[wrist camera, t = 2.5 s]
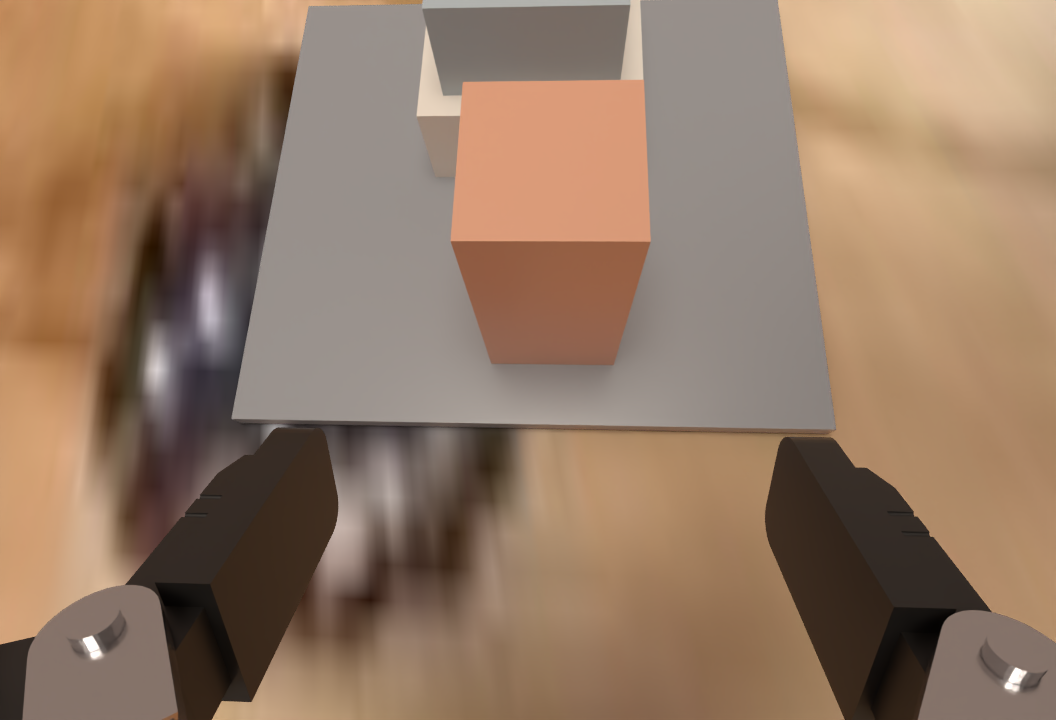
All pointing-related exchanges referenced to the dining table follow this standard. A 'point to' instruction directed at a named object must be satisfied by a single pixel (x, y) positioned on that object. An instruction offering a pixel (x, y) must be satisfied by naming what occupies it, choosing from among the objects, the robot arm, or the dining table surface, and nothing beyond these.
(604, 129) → the terracotta brick
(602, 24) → the tower base
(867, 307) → the dining table surface
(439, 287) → the baseplate
